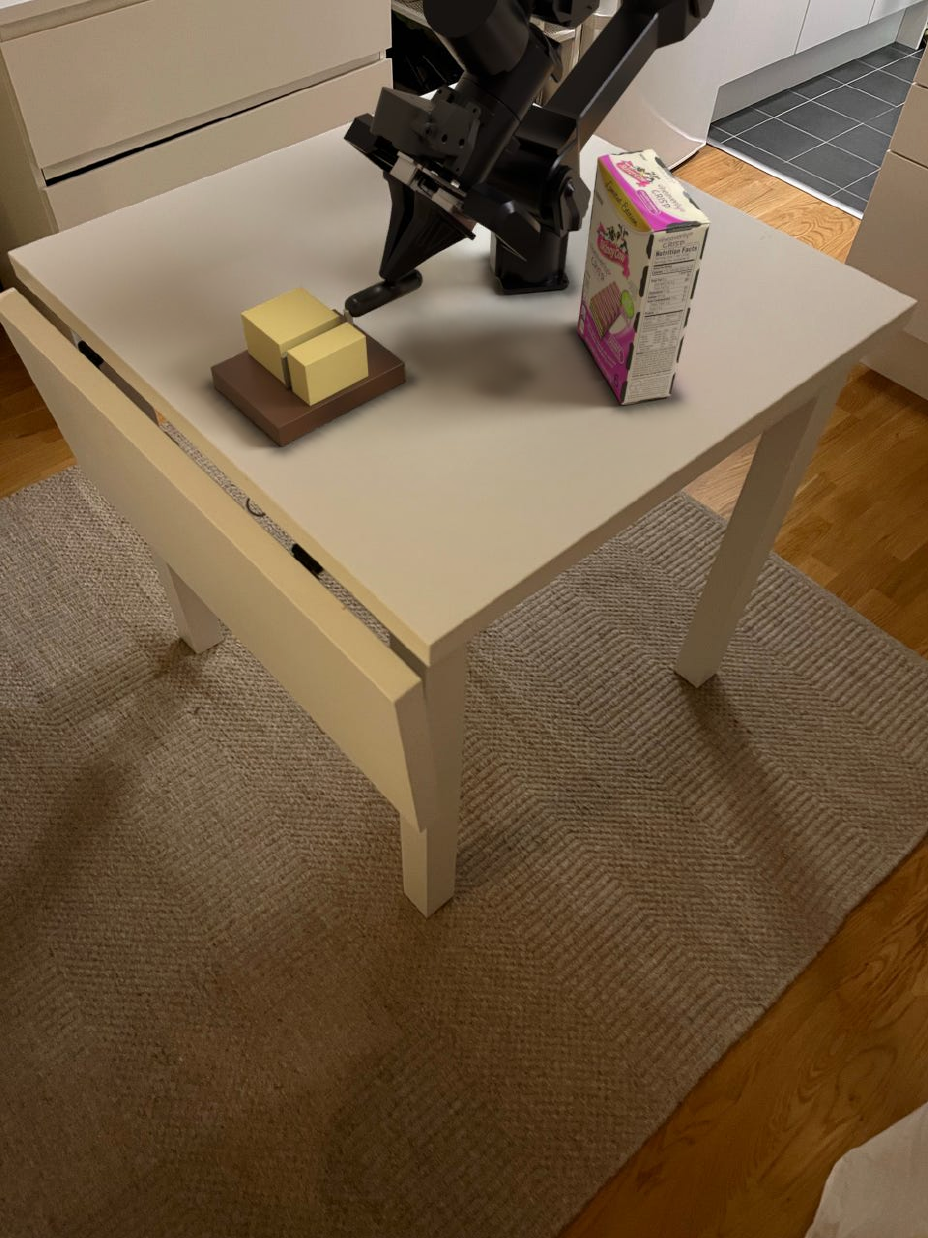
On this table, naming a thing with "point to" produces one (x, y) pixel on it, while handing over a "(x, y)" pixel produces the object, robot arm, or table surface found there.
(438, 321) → the table surface
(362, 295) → the knife
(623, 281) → the candy bar box
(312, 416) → the board
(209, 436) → the table surface
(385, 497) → the table surface
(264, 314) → the butter
